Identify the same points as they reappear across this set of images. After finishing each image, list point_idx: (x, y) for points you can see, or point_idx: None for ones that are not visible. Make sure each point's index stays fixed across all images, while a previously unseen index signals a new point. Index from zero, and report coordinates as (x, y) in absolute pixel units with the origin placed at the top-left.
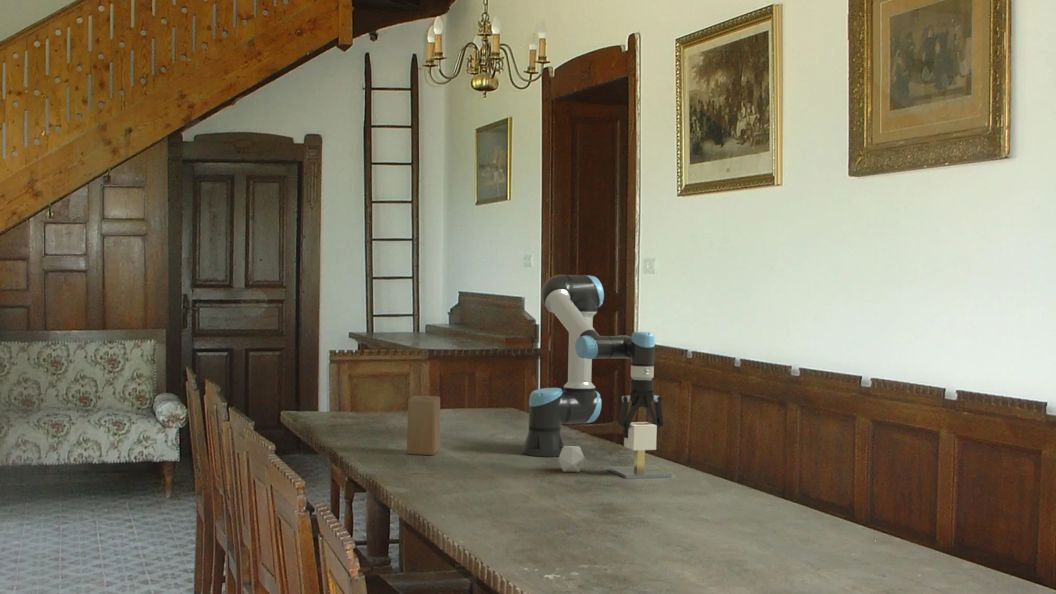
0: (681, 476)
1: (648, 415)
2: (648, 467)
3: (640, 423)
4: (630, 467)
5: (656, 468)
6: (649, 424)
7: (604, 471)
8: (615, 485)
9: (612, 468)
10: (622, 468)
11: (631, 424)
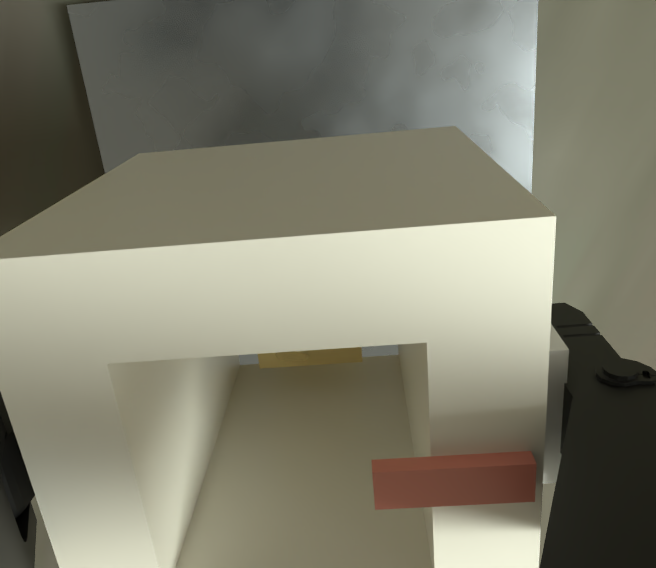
0: (613, 338)
1: (545, 545)
2: (461, 71)
3: (331, 340)
4: (284, 60)
5: (515, 130)
6: (442, 553)
7: (40, 87)
8: (54, 556)
9: (100, 102)
10: (194, 107)
11: (69, 538)
